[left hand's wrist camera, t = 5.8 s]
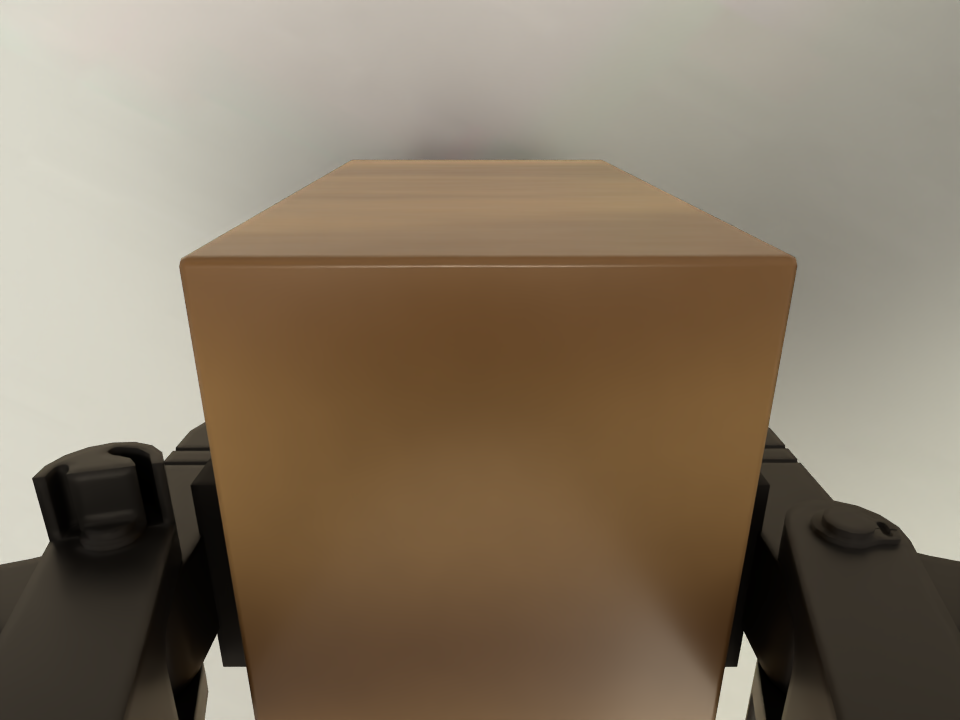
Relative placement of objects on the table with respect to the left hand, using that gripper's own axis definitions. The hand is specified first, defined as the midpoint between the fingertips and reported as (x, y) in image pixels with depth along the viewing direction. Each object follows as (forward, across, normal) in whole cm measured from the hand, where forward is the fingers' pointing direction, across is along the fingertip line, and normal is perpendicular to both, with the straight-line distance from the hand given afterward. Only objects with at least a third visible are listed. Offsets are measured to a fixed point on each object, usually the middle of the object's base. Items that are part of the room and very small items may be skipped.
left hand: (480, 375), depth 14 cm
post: (+1, 0, -32) cm, 32 cm away
